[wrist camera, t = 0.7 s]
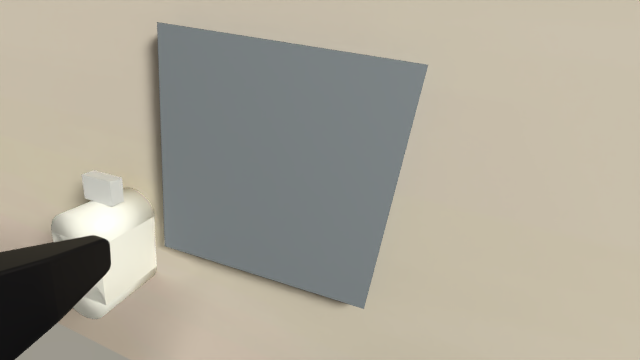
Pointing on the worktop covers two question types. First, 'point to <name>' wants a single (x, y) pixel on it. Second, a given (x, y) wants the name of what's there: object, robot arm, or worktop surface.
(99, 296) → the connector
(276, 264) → the slate mat
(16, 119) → the worktop surface
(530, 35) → the worktop surface
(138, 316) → the worktop surface
